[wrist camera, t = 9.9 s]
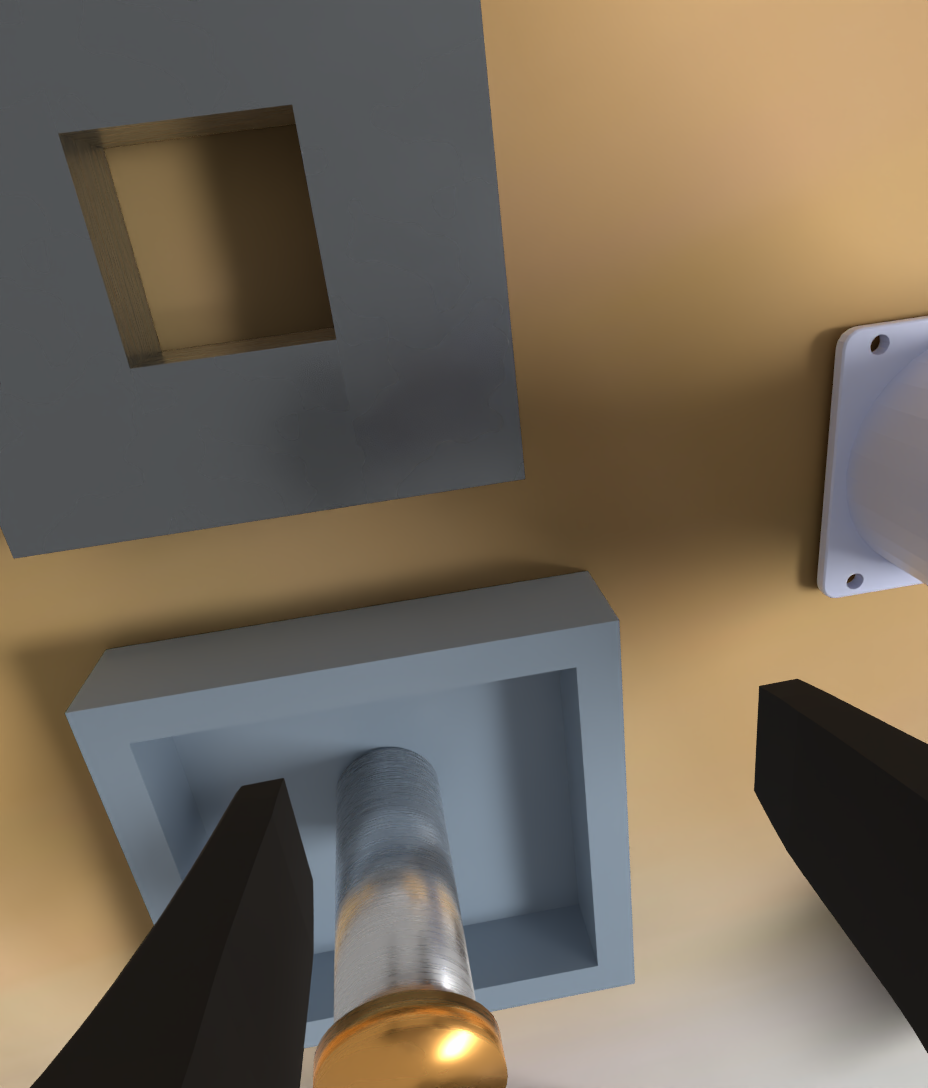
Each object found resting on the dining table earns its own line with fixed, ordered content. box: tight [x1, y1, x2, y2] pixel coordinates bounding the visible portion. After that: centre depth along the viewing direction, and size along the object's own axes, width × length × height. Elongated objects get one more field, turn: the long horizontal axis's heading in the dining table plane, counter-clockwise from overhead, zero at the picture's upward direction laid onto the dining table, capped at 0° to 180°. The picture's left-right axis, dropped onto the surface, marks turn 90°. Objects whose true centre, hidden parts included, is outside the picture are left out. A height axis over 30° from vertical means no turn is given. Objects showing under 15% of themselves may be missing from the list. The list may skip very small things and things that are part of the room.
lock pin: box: [313, 748, 508, 1088], centre depth 19 cm, size 4×4×9 cm
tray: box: [65, 571, 635, 1048], centre depth 22 cm, size 14×14×3 cm
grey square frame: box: [0, 0, 525, 558], centre depth 16 cm, size 12×12×2 cm
